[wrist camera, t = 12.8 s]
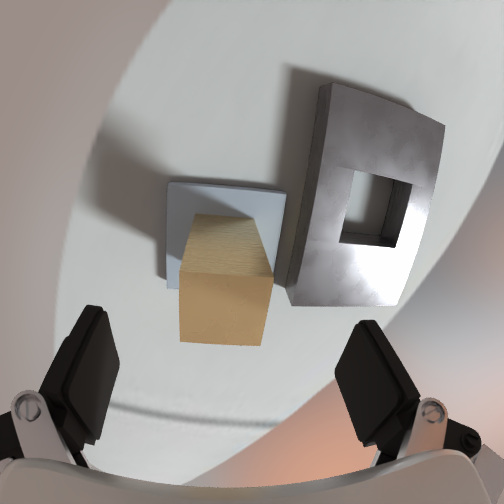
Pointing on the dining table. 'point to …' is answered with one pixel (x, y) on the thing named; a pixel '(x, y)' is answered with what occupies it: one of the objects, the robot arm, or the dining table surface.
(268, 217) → the mat
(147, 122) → the dining table surface
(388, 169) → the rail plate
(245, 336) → the brass block
